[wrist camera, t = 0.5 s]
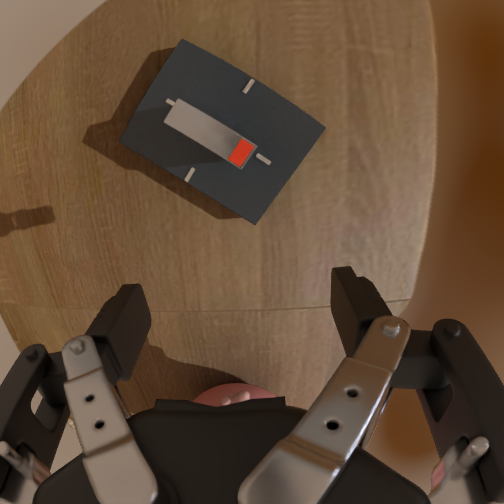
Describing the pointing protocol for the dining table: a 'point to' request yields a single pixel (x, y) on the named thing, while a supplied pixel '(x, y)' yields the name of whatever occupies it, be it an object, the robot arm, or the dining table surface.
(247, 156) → the tap handle
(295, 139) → the base
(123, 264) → the dining table surface
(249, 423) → the robot arm
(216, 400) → the balloon
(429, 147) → the dining table surface
